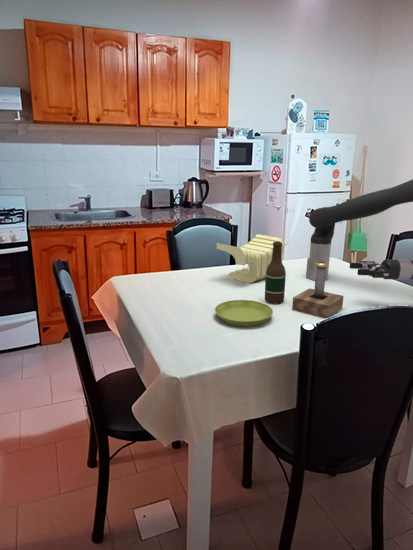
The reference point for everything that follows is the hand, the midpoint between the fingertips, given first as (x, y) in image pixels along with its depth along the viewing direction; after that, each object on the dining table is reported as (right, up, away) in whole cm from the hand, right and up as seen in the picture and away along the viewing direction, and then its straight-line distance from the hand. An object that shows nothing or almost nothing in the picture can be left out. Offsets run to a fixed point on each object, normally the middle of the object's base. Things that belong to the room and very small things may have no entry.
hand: (353, 268), depth 155 cm
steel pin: (-13, -15, +2) cm, 20 cm away
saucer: (-42, -18, -6) cm, 46 cm away
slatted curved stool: (-35, -4, +41) cm, 54 cm away
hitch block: (-13, -15, +2) cm, 20 cm away
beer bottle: (-28, -13, +10) cm, 33 cm away
